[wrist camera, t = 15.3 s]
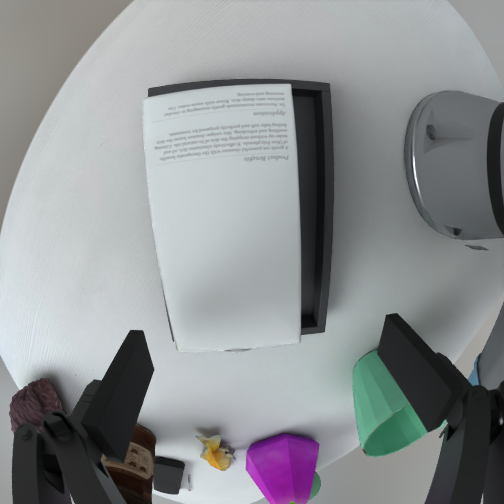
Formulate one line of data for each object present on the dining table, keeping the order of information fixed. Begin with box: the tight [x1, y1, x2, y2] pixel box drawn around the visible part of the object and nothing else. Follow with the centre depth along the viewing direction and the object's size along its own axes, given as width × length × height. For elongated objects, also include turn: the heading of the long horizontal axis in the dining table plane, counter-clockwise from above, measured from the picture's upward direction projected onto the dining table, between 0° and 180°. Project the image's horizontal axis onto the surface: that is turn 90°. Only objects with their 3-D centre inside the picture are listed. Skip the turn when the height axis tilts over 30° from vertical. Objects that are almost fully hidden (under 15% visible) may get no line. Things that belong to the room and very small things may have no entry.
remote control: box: [153, 457, 185, 494], centre depth 32 cm, size 5×2×15 cm
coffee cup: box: [101, 425, 156, 504], centre depth 22 cm, size 9×8×13 cm
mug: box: [353, 350, 446, 457], centre depth 23 cm, size 15×10×10 cm
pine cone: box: [9, 378, 62, 433], centre depth 22 cm, size 18×10×10 cm, turn 142°
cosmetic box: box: [142, 84, 301, 353], centre depth 17 cm, size 8×7×16 cm
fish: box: [196, 435, 236, 471], centre depth 29 cm, size 12×2×5 cm
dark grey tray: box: [148, 79, 334, 342], centre depth 20 cm, size 20×13×2 cm, turn 2°
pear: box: [246, 433, 320, 504], centre depth 24 cm, size 11×11×15 cm
